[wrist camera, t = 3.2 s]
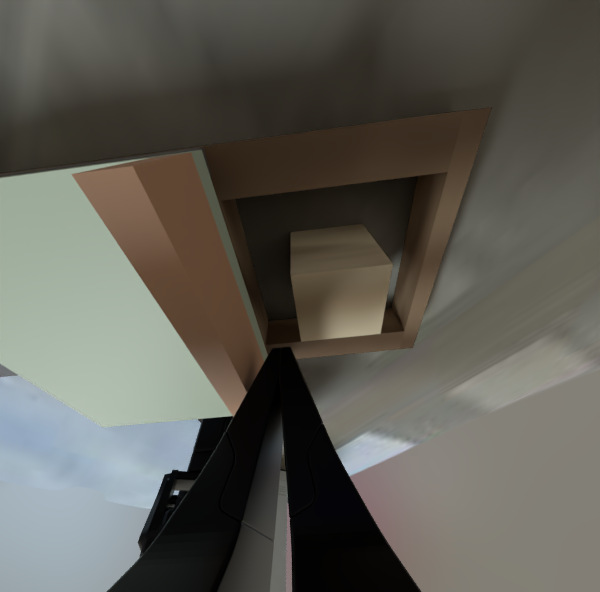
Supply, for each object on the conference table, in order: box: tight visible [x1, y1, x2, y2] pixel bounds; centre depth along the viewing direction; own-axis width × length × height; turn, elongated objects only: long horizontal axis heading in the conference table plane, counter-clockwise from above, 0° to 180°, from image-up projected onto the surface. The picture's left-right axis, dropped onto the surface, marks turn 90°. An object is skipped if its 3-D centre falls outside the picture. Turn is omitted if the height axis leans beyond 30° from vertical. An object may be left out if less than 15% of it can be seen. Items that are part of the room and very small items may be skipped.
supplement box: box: [270, 470, 287, 592], centre depth 37 cm, size 9×9×15 cm
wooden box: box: [0, 108, 492, 359], centre depth 13 cm, size 14×24×6 cm, turn 96°
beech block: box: [291, 224, 393, 342], centre depth 13 cm, size 4×4×5 cm
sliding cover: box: [0, 150, 268, 427], centre depth 9 cm, size 14×12×3 cm
